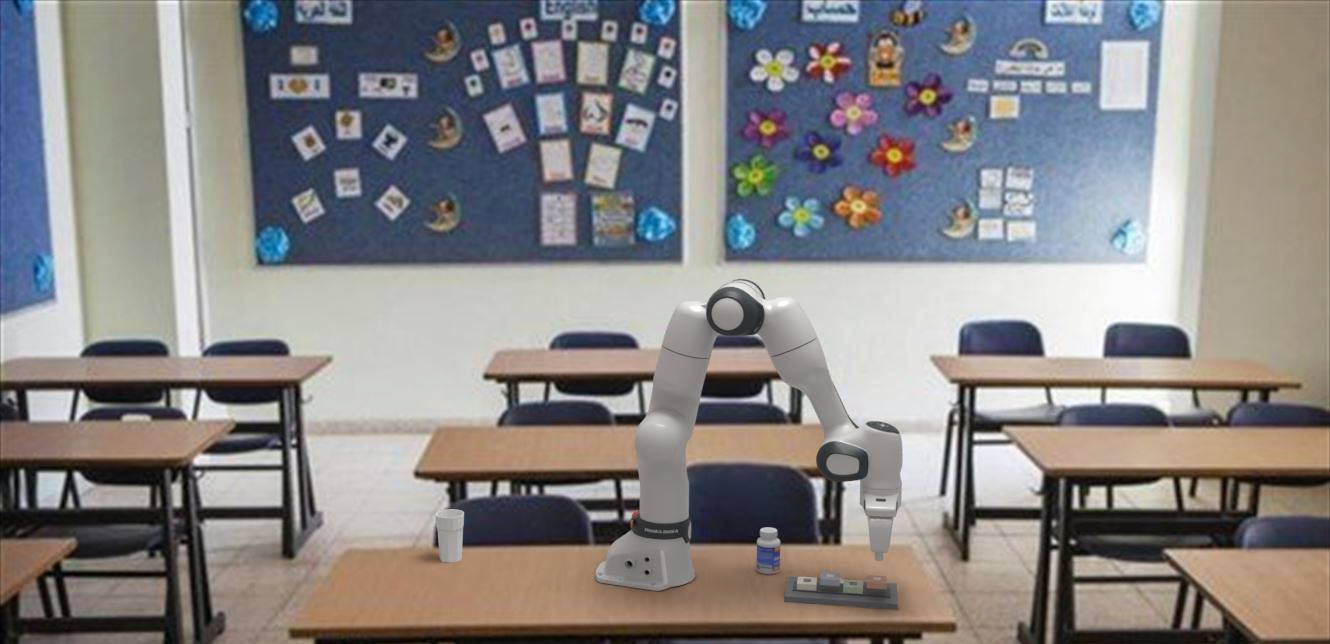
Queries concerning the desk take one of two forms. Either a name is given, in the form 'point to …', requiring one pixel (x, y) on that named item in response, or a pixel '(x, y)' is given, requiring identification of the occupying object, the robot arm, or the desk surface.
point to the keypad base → (843, 595)
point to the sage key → (853, 586)
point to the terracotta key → (876, 582)
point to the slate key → (830, 579)
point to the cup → (450, 534)
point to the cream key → (807, 583)
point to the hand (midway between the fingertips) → (878, 558)
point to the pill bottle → (768, 551)
